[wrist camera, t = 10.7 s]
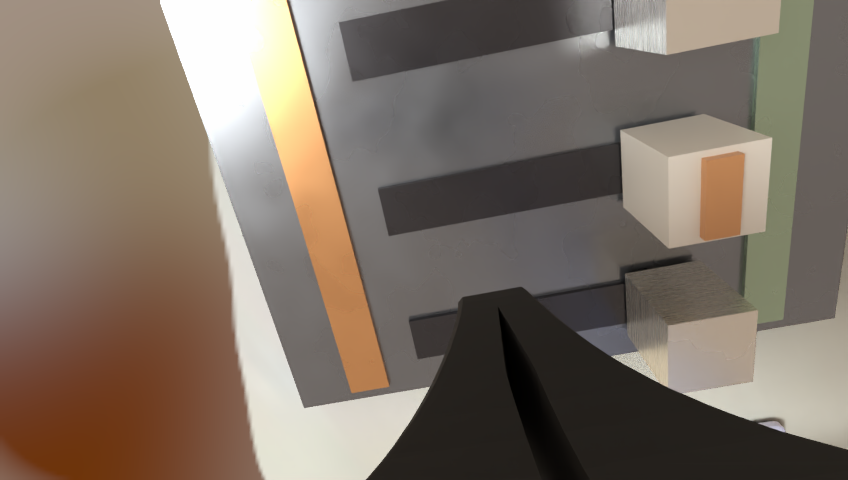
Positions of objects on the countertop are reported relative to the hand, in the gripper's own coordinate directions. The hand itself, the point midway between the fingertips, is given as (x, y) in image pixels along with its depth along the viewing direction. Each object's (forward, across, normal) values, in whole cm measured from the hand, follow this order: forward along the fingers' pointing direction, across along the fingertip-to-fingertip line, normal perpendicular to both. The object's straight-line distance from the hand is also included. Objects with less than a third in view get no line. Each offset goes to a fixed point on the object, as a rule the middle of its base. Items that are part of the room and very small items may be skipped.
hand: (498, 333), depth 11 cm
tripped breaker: (+8, -7, 0) cm, 11 cm away
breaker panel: (+10, -3, 0) cm, 10 cm away
